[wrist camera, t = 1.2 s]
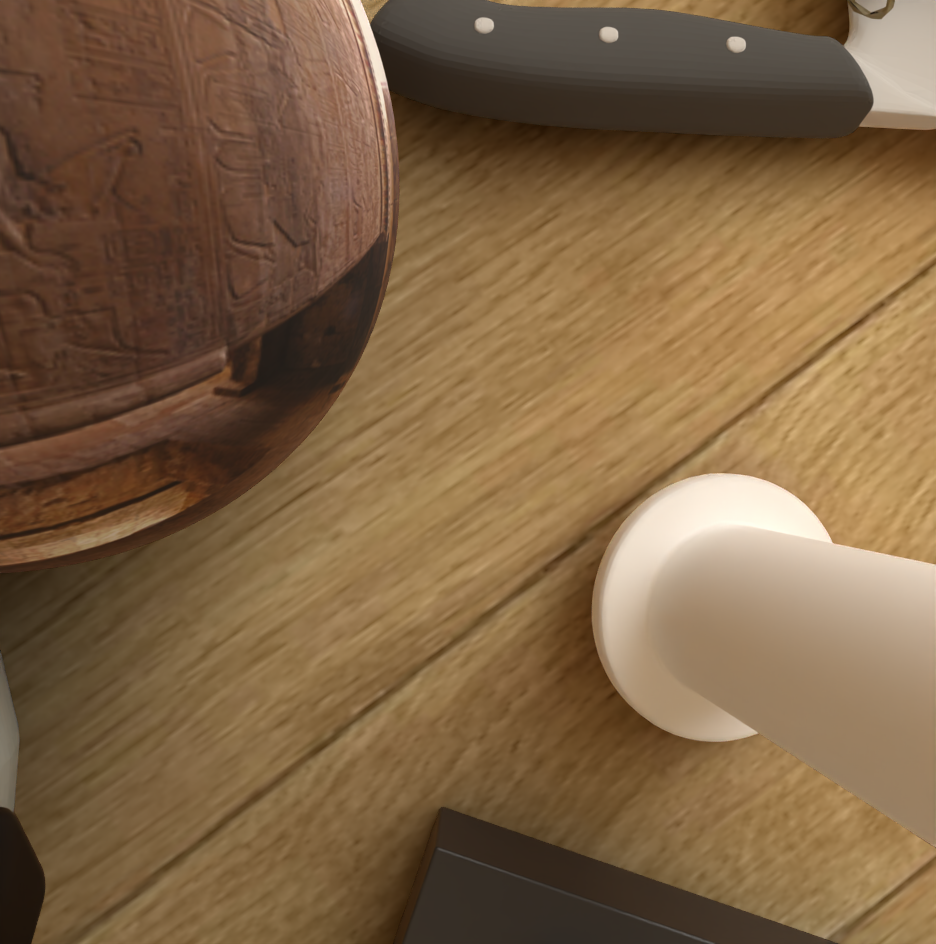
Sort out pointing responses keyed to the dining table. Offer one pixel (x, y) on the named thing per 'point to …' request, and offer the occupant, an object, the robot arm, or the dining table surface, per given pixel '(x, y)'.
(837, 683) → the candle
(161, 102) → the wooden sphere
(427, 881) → the scale
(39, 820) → the dining table surface
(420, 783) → the dining table surface
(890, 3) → the flintlock pistol
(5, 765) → the decorative ball
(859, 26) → the kitchen knife
